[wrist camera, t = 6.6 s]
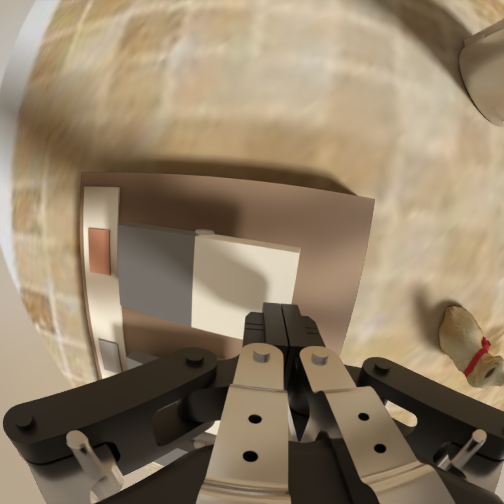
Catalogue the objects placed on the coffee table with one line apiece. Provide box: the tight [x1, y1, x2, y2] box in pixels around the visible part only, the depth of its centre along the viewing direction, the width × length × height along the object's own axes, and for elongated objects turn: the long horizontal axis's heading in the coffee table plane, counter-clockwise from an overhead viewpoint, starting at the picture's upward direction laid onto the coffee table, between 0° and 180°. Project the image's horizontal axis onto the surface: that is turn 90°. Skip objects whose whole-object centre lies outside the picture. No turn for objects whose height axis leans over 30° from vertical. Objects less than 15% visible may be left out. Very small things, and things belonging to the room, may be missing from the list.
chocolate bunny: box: [439, 306, 504, 389], centre depth 17 cm, size 6×8×10 cm
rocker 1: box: [154, 440, 205, 466], centre depth 19 cm, size 5×10×2 cm, turn 84°
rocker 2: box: [118, 222, 301, 340], centre depth 15 cm, size 5×10×2 cm, turn 84°
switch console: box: [80, 172, 375, 446], centre depth 20 cm, size 29×20×5 cm
